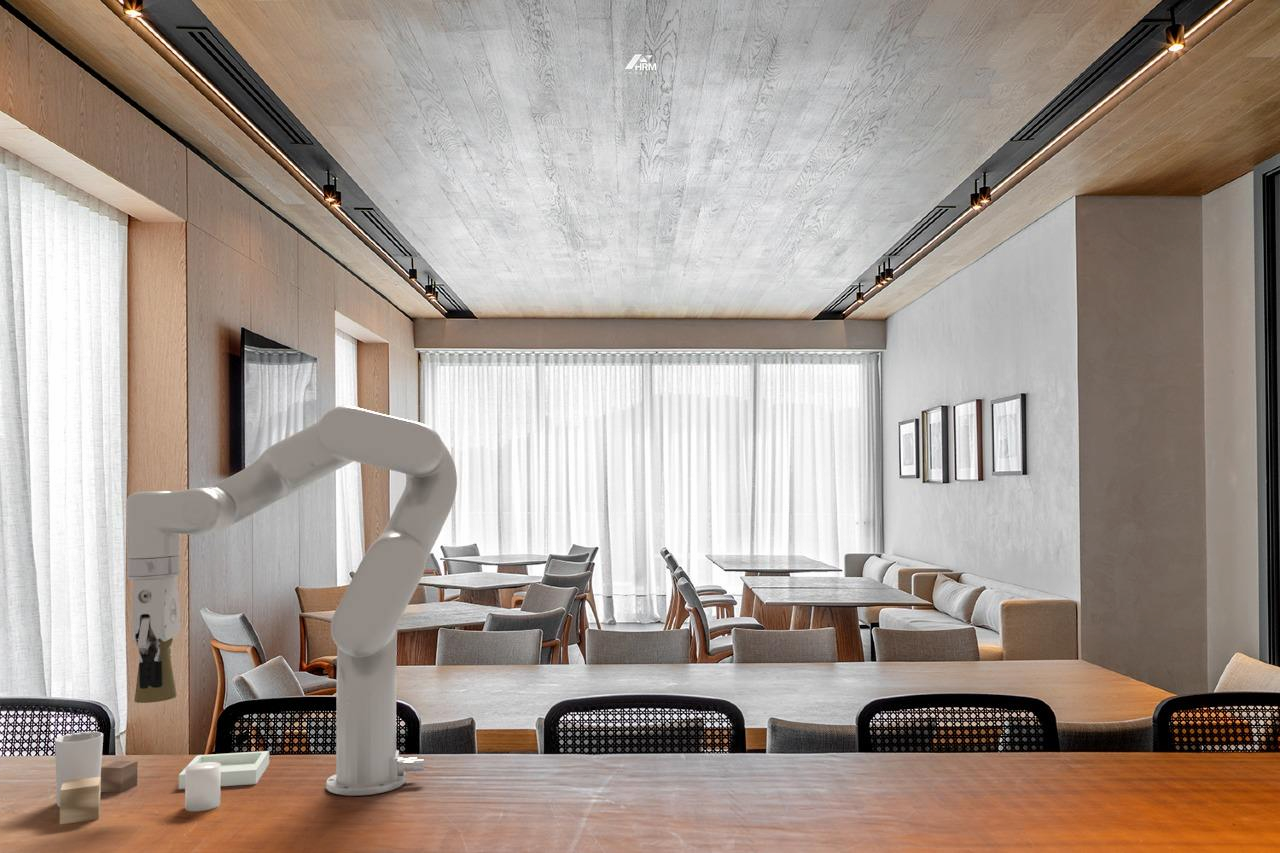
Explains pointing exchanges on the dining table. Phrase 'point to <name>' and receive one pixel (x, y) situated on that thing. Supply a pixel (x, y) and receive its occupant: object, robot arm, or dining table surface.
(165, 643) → the olive rounded tall piece
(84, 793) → the oak block
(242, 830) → the dining table surface
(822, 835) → the dining table surface
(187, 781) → the white rounded cylinder
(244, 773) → the tray
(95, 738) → the drinking glass
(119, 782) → the walnut block
